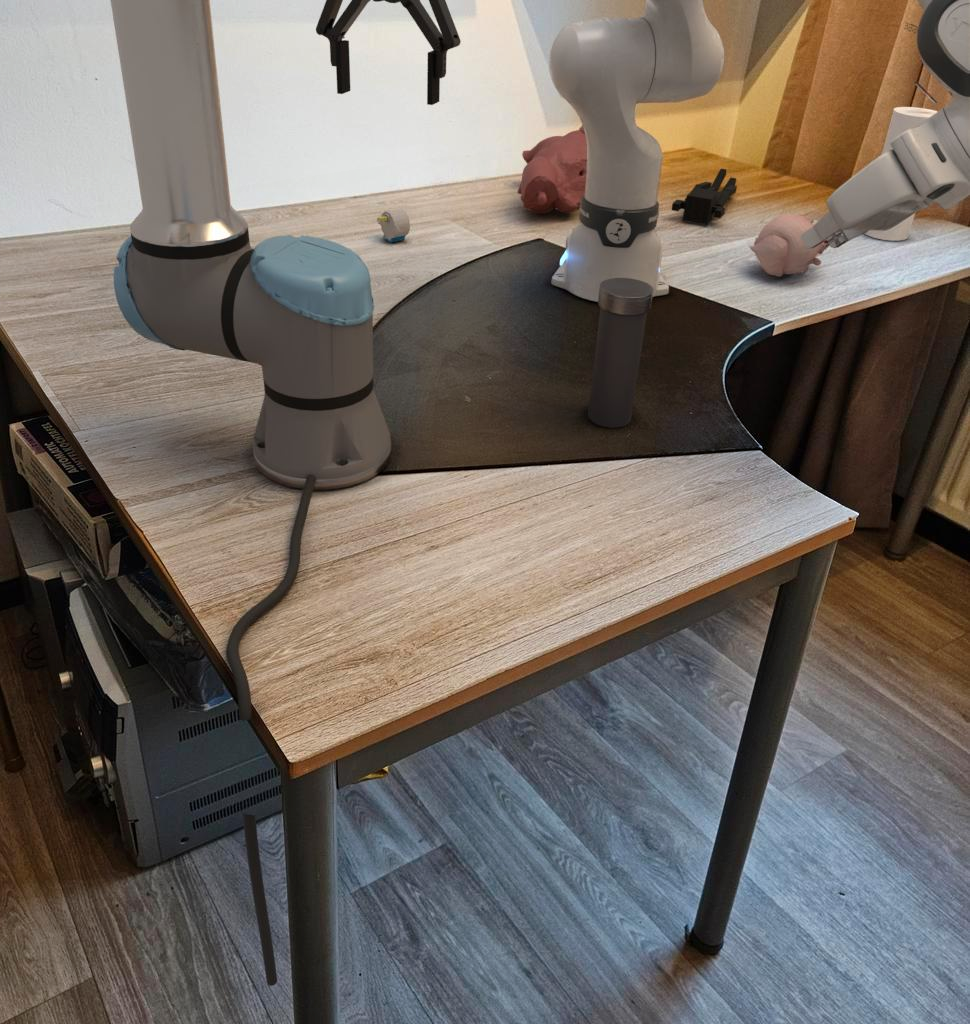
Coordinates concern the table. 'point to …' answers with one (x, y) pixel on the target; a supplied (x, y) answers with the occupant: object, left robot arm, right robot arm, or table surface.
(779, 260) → the toy
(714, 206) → the toy
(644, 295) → the lid
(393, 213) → the electric motor
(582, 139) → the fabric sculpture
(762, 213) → the table surface
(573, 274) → the right robot arm
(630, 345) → the jar
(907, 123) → the tall white tube
